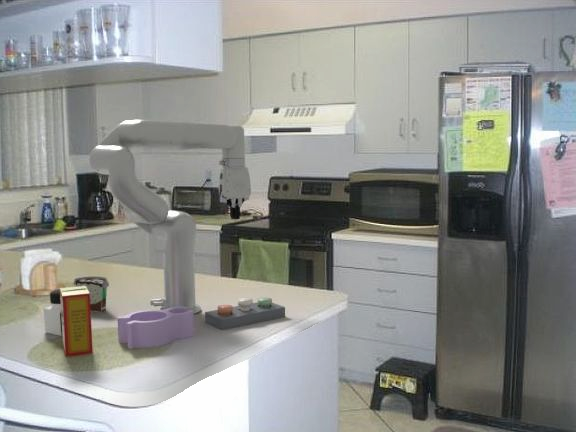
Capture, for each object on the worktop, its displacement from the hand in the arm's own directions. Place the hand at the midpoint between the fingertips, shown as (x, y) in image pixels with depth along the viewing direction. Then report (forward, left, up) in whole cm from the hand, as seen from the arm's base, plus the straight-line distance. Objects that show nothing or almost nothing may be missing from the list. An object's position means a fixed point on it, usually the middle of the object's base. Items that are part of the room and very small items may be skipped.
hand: (235, 218), depth 220 cm
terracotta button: (-4, -29, -27) cm, 40 cm away
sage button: (+8, -22, -27) cm, 36 cm away
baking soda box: (-43, -47, -27) cm, 69 cm away
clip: (-23, -41, -28) cm, 54 cm away
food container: (-45, -7, -27) cm, 53 cm away
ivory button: (+2, -26, -26) cm, 36 cm away
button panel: (+2, -26, -27) cm, 37 cm away
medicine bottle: (-50, -31, -27) cm, 65 cm away
